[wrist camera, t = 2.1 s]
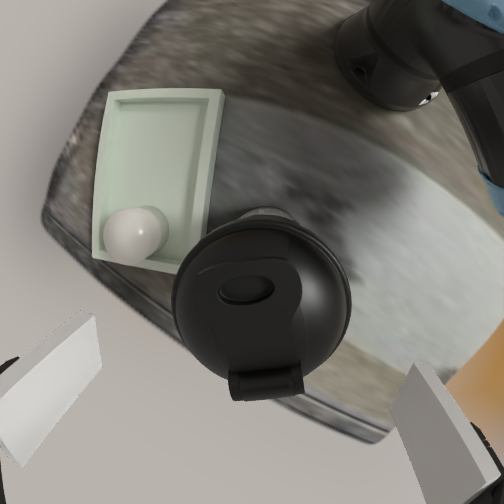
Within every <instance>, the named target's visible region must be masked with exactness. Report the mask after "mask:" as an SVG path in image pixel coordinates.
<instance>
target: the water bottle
mask: <svg viewBox="0 0 504 504" xmlns="http://www.w3.org/2000/svg"><path fill="white" fill-rule="evenodd" d="M171 306H172V314H173V319H174V323H175V326H176V328H177V331H178V333H179V335H180V337H181V339H182V341H183V342H184V344H185V345H186V347H187V348H188V349H189V351H190V352H191V353H192V354H193V355H194V356H195V357H196V359H197V360H198V361H199V362H200V363H201V364H203V365H204V366H205V367H206V368H208V369H209V370H210V371H212V372H213V373H215V374H217V375H218V376H220V377H222V378H224V379H227V380H228V385H229V391H230V395H231V397H232V399H233V400H234V401H243V400H244V401H256V400H266V399H275V398H283V397H291V396H295V395H297V394H304V393H305V391H304V383H303V377H304V376H306V375H308V374H309V373H310V372H312V371H313V370H314V369H316V368H317V367H318V366H320V365H321V364H322V363H323V362H325V361H326V360H327V359H328V358H329V357H330V356H331V355H332V353H333V352H334V351H335V350H336V348H337V347H338V346H339V344H340V342H341V341H342V339H343V337H344V335H345V333H346V330H347V328H348V324H349V321H350V316H351V306H352V301H351V291H350V286H349V282H348V279H347V276H346V273H345V271H344V269H343V267H342V265H341V263H340V262H339V260H338V259H337V257H336V256H335V255H334V253H333V252H332V251H331V250H330V249H329V248H328V246H327V245H326V244H325V243H324V242H323V241H322V240H321V239H320V238H319V237H317V236H316V235H315V234H314V233H312V232H311V231H309V230H308V229H306V228H304V227H302V226H300V225H299V224H298V222H297V221H296V220H295V219H294V218H293V217H292V216H291V215H290V214H288V213H287V212H285V211H284V210H282V209H279V208H276V207H270V206H264V207H258V208H255V209H252V210H250V211H249V212H247V213H246V214H244V215H242V217H240V218H238V219H237V220H234V221H231V222H228V223H226V224H224V225H222V226H220V227H218V228H216V229H215V230H213V231H211V232H210V233H209V234H207V235H206V236H205V237H204V238H202V239H201V240H200V241H199V242H198V243H197V244H196V245H195V246H194V247H193V248H192V249H191V251H190V252H189V253H188V254H187V256H186V257H185V258H184V260H183V262H182V263H181V265H180V267H179V269H178V272H177V274H176V277H175V280H174V283H173V288H172V296H171Z"/></svg>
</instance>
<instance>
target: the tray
mask: <svg viewBox="0 0 504 504" xmlns="http://www.w3.org/2000/svg"><path fill="white" fill-rule="evenodd" d="M225 98H226V97H225V95H224V93H223V91H222V90H221V89H201V88H157V89H137V90H123V91H113V92H109V93H108V98H107V102H106V107H105V112H104V117H103V123H102V129H101V135H100V141H99V148H98V156H97V164H96V173H95V184H94V198H93V218H92V258H96V259H101V260H105V261H110V262H115V263H118V262H117V261H115V260H114V259H113V258H112V257H111V256H110V255H109V253H108V252H107V250H106V248H105V245H104V240H103V230H104V226H105V224H106V222H107V220H108V219H109V217H110V216H111V215H112V214H114V213H116V212H118V211H122V210H126V209H131V208H136V207H140V206H146V205H148V206H153V207H156V208H158V209H159V210H160V211H162V213H163V214H164V215H165V217H166V218H167V221H168V224H169V237H168V240H167V242H166V244H165V245H164V246H163V247H162V248H161V249H159V250H158V251H156V252H155V253H153V254H151V255H150V256H148V257H147V258H145V259H143V260H142V261H140V262H139V263H137V264H134V265H130V266H135V267H140V268H145V269H150V270H155V271H160V272H166V273H171V274H177V272H178V269H179V267H180V265H181V263H182V262H183V260H184V258H185V257H186V256H187V254H188V253H189V252H190V251H191V249H192V248H193V247H194V246H195V245H196V244H197V243H198V242H199V241H200V240H201V239H202V238H204V237H205V236H206V232H207V223H208V214H209V206H210V198H211V190H212V182H213V175H214V168H215V161H216V154H217V147H218V141H219V134H220V128H221V122H222V116H223V110H224V104H225Z"/></svg>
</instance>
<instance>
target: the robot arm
mask: <svg viewBox="0 0 504 504" xmlns="http://www.w3.org/2000/svg"><path fill="white" fill-rule="evenodd" d="M334 49H335V56H336V60H337V63H338V65H339V68H340V70H341V71H342V73H343V75H344V76H345V78H346V79H347V80H348V82H349V83H350V84H351V85H352V86H353V87H354V88H355V89H356V90H357V91H358V92H359V93H360V94H361V95H363V96H364V97H365V98H367V99H368V100H370V101H372V102H373V103H375V104H377V105H379V106H382V107H384V108H387V109H391V110H395V111H411V110H415V109H418V108H420V107H422V106H424V105H426V104H428V103H429V102H431V101H432V100H433V99H434V98H435V97H436V96H437V94H438V92H439V91H440V89H441V87H443V88H444V90H445V92H446V94H447V96H448V98H449V100H450V102H451V104H452V106H453V107H454V109H455V111H456V113H457V116H458V118H459V120H460V122H461V124H462V126H463V128H464V131H465V133H466V135H467V137H468V140H469V142H470V145H471V147H472V150H473V152H474V155H475V157H476V160H477V163H478V166H477V167H478V171H479V173H480V175H481V177H482V178H483V180H484V182H485V185H486V188H487V190H488V193H489V196H490V199H491V202H492V204H493V206H494V208H495V209H496V211H497V212H498V213H499V214H500V215H501V216H502V217H504V0H372V1H371V3H370V4H369V6H367V7H366V8H364V9H362V10H360V11H359V12H357V13H355V14H353V15H351V16H350V17H349V18H347V19H346V20H345V21H344V23H343V24H342V25H341V27H340V29H339V32H338V34H337V36H336V39H335V47H334ZM101 368H102V363H101V357H100V351H99V344H98V337H97V329H96V321H95V315H93V314H90V313H87V312H84V311H80V312H78V313H77V314H75V315H74V316H73V317H71V318H70V319H69V320H68V321H66V322H65V323H64V324H62V325H61V326H60V327H58V328H57V329H56V330H55V331H53V332H52V333H51V334H49V335H48V336H47V337H45V338H44V339H43V340H42V341H40V342H39V343H38V344H37V345H35V347H33V348H32V349H30V350H29V351H28V352H27V353H26V354H24V355H23V356H22V357H21V358H19V357H15V358H13V359H11V360H8V361H6V362H5V363H4V364H2V365H1V366H0V447H1V448H2V450H3V451H4V452H5V454H6V455H7V457H9V458H10V459H11V460H13V461H14V462H15V463H16V464H18V465H19V466H20V467H22V468H23V467H24V465H25V464H26V463H27V461H28V460H29V459H30V457H31V456H32V455H33V453H34V452H35V451H36V449H37V448H38V447H39V445H40V444H41V443H42V442H43V440H44V439H45V438H46V436H47V435H48V434H49V432H50V431H51V430H52V429H53V427H54V426H55V425H56V424H57V422H58V421H59V420H60V418H61V417H62V416H63V415H64V413H65V412H66V411H67V410H68V408H69V407H70V406H71V405H72V403H73V402H74V401H75V399H77V397H78V396H79V395H80V394H81V392H82V391H83V390H84V389H85V388H86V386H87V385H88V384H89V383H90V381H91V380H92V379H93V378H94V377H95V376H96V374H97V373H98V372H99V371H100V370H101ZM389 411H390V413H391V415H392V418H393V420H394V422H395V424H396V427H397V429H398V431H399V434H400V436H401V438H402V441H403V443H404V446H405V448H406V451H407V453H408V456H409V458H410V461H411V463H412V466H413V469H414V471H415V474H416V476H417V479H418V482H419V484H420V487H421V490H422V492H423V495H424V498H425V501H426V504H504V467H503V466H502V464H501V462H500V461H499V459H498V457H497V455H496V454H495V452H494V451H493V449H492V447H491V448H490V444H489V443H488V441H487V440H485V439H486V438H485V436H484V435H483V433H482V432H481V430H480V429H479V428H478V427H476V426H475V425H474V424H473V423H472V422H469V421H468V419H467V418H466V416H465V415H464V413H463V412H462V410H461V409H460V407H459V406H458V405H457V403H456V402H455V401H454V399H453V397H452V396H451V394H450V393H449V392H448V390H447V389H446V387H445V386H444V385H443V383H442V382H441V380H440V379H439V378H438V376H437V375H436V374H435V372H434V371H433V370H432V368H431V367H430V366H429V364H428V363H427V362H422V363H413V365H412V367H411V369H410V371H409V373H408V375H407V377H406V379H405V381H404V383H403V385H402V387H401V389H400V391H399V393H398V395H397V397H396V399H395V400H394V402H393V404H392V406H391V408H390V409H389ZM0 504H6V501H5V495H4V489H3V482H2V473H1V463H0Z"/></svg>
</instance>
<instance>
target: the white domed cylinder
mask: <svg viewBox="0 0 504 504" xmlns="http://www.w3.org/2000/svg"><path fill="white" fill-rule="evenodd" d="M168 237H169V224H168V221H167V218H166V217H165V215H164V214H163V213H162V211H160V210H159V209H158V208H156V207H153V206H148V205H146V206H140V207H136V208H131V209H126V210H122V211H118V212H116V213H114V214H112V215H111V216H110V217H109V219H108V220H107V222H106V224H105V226H104V230H103V240H104V245H105V248H106V250H107V252H108V253H109V255H110V256H111V257H112V258H113V259H114V260H115V261H117V262H118V263H120V264H123V265H134V264H137V263H139V262H140V261H142V260H143V259H145V258H147V257H148V256H150V255H151V254H153V253H155V252H156V251H158V250H159V249H161V248H162V247H163V246H164V245H165V244H166V242H167V240H168Z"/></svg>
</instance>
